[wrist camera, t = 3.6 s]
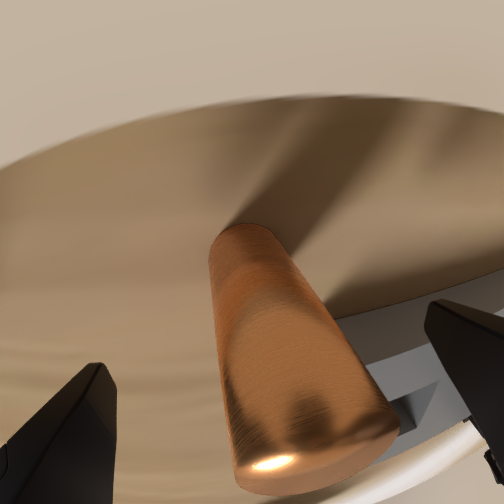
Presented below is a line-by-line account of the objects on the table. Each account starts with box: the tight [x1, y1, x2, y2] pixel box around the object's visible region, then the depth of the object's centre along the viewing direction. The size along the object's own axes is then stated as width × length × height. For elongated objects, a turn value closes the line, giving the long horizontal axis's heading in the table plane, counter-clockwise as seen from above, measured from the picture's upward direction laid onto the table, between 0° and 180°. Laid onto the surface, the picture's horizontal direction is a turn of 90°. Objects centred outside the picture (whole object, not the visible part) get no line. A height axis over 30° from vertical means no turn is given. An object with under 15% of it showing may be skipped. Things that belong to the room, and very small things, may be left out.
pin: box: [209, 223, 401, 496], centre depth 8 cm, size 3×3×9 cm
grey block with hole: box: [334, 268, 504, 466], centre depth 16 cm, size 18×12×4 cm, turn 96°
